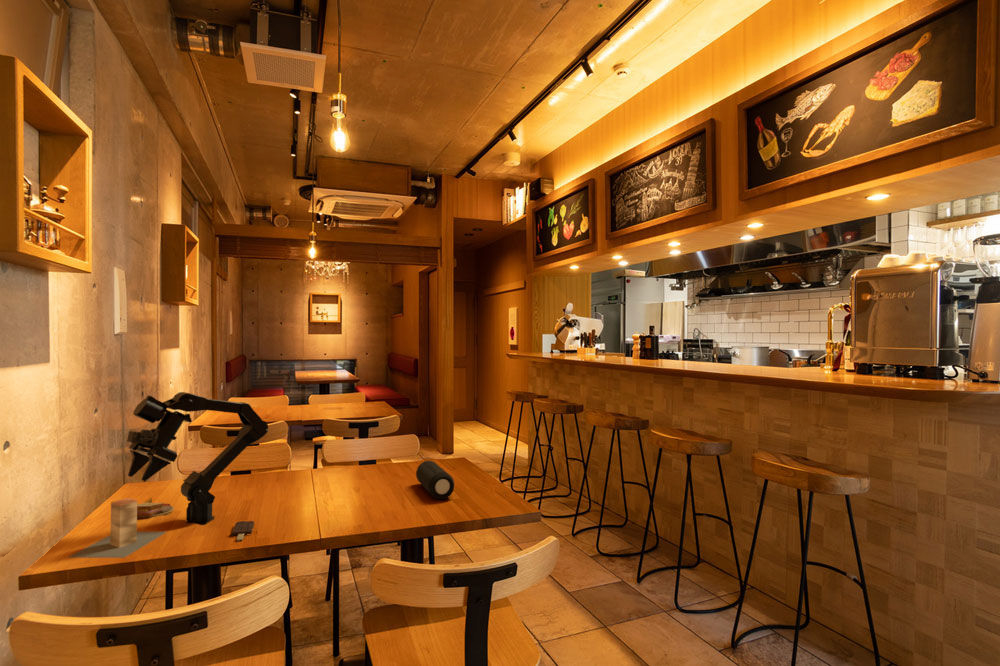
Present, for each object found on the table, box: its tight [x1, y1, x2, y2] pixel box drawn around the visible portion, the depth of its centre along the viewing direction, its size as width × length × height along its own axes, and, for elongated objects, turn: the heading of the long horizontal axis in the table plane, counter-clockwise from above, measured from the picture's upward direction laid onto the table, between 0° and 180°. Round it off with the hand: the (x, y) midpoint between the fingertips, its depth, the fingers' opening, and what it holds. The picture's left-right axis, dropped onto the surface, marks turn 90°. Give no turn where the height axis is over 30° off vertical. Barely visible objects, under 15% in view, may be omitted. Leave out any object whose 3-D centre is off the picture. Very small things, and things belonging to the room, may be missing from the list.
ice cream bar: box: [231, 520, 255, 542], centre depth 164 cm, size 5×2×15 cm
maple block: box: [110, 497, 138, 548], centre depth 153 cm, size 4×4×12 cm
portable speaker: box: [415, 460, 455, 500], centre depth 210 cm, size 26×10×10 cm, turn 22°
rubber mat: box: [67, 531, 167, 559], centre depth 153 cm, size 15×19×1 cm
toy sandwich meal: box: [137, 497, 175, 519], centre depth 180 cm, size 12×14×5 cm
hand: (136, 478), depth 159 cm, fingers open, 9 cm apart
